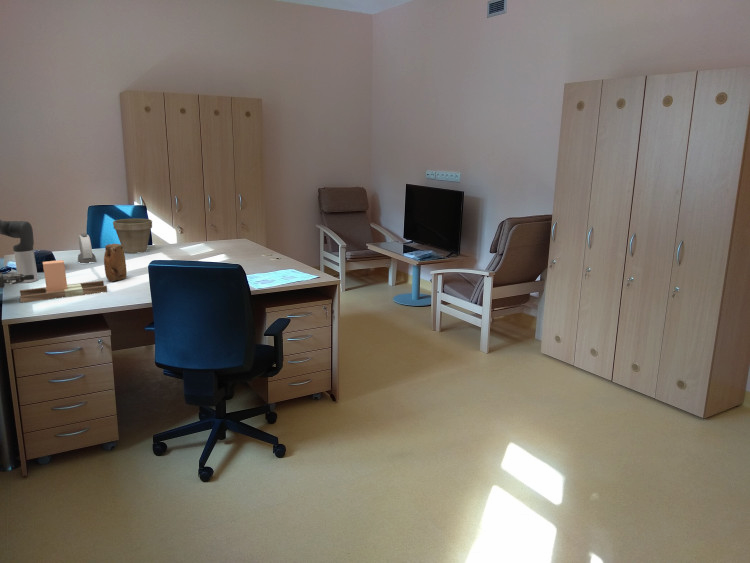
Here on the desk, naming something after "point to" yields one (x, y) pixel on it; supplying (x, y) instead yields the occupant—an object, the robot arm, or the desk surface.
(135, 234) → the plant pot
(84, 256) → the grey piece
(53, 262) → the block
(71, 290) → the track
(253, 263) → the desk surface
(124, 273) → the block
